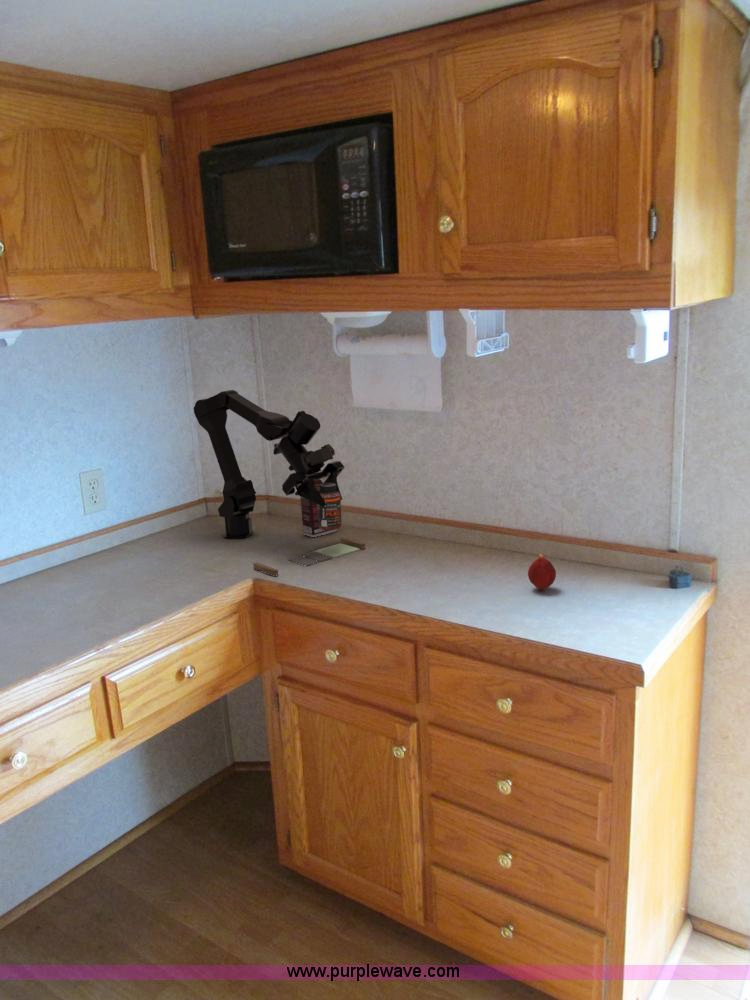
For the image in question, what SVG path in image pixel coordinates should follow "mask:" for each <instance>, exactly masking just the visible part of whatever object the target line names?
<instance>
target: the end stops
mask: <svg viewBox="0 0 750 1000" xmlns="http://www.w3.org/2000/svg"><path fill="white" fill-rule="evenodd" d="M339 543H342V544H345V545H349V546H352V547H356V548H359V549H360V550H361V551H364V550H366V543H364V542H360V541H357V540H353V539H349V538H347V537H342V536H341V537H339ZM252 565H253V570H255V569H257V570H259V571H258V572H260V571H263V572H266V573H269V574H272V575H274V576H276V575H278V576H279V569H276V568H274V567H272V566H269V565H265V564H262V563H260V562H254V563H252ZM257 570H256V571H257ZM263 572H262V573H263Z"/></svg>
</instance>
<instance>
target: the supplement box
mask: <svg viewBox="0 0 750 1000" xmlns="http://www.w3.org/2000/svg"><path fill="white" fill-rule="evenodd" d="M321 484H323V482H322V481H321V480H320V479H318V480H315V481H314V486H315V488H316V489H317V491H318V492H320V491H321V490H320V485H321ZM299 497H300V506H301V507H300V508H301V510H300V511H301V520H302V522H301V523H302V528H303V529H302V531H303V534H302V535H303V536H305V535H307V536H306V537H308V536H310V537H309V538H311V537H315V538H318V537H321V535H322V536H325V535H328V534H332V533H335V532H337V531H338V529H336V530H322V529H320V528H319V526H318V510H317V504H316V503H314V502H312V501H310V500H308V499H306V498H303V497H301V496H299ZM317 536H318V537H317Z"/></svg>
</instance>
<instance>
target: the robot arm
mask: <svg viewBox="0 0 750 1000" xmlns="http://www.w3.org/2000/svg"><path fill="white" fill-rule="evenodd" d="M229 410H230V411H231V412H233V413H234V414H236V415H238V416H240V417H241V418H243V419H244V420H245V421H247V422H249V424H250V423H251V424H252V425H253V426H254V427H255V429H256V431H257V433H258V434H259V435H260V436H261V437H262V438H264V439H265V440H266V441H269V442H271V441H276V440H280V441H279V442H278V443H274V445H273V446H274V447H273V455H280V454H281V455H282V456H283V458H285V460H286V462H287V463H288V464H289V466H288V470H289V471H290V472H291V471H294V472H293V473H290V474H289V475H288V477H287V478H286V479H285V481H284V482H283V483H282V485H281V487H282V489H281V490H282V491H283V493H284V495H285V496H289V495H293V494H294V496H299V497H300V496H301V497H303V498H306V499H308V500H310V501H312V502H314V503H316V504H318V505H320V506H322V507H325V506H326V503H325V501H324V499H323V498H322V496H321V495H320V493H319V492H318V491H317V489H316V488H315V486H314V481H315V480H318V479H320V480H321V481H322V482H323V483H335V484H336V491H337V492H339V493H340V500H341V501H342V500H343V497H342V494H341V491H340V487H339V484H338V476H339V475H340V474H341V473H342V471H344V469H345V465H344V464H343V463H342V461H341V460H336V461H332V462H328V463H327V464H326V466H325V463H326V462H327V461H329V460H330V461H331V460H333V459H334V456H335V449H334V448H333V447H332V445H331V444H329V443H328V444H325V445H323V446H321V447H320V448H319V449H317V450H308V449H307V448H306V447H305V445H308V444H309V443H310V442H311V441H312V440H313V438H314V437H315V435H316V434H317V432H318V431H320V429H321V423H320V420H319V419H318V418H316V417H315V416H313V415H311V414H310V413H307V412H306V411H305V410H300V411H298V412H297V413H296V414H295V417H294V419H293V420H290V419H289V417H287V415H283V414H280V413H277V412H272V411H268V410H265V409H264V408H262V407H261V406H258V405H257V404H256V403H254V402H252V401H251V400H249V399H247V398H246V397H244V396H242V395H241V394H239V392H238V391H237V390H234V389H228V390H224V391H223V390H222V391H220V392H219V393H217V394H215V395H213V396H210V397H208V398H203V399H199V400H196V402H195V403H194V406H193V413H194V416H195V418H196V420H197V422H198V424H199V426H201V427H202V428H203V429H204V430H205V432H207V433H208V436H209V439H210V442H211V445H212V448H213V451H214V454H215V457H216V460H217V463H218V466H219V469H220V473H221V474H222V478H223V480H224V482H223V483H224V484H223V488H222V497H223V501H222V502H221V504H220V506H219V507H218V508H217V511H218V514H219V517H221V518H224V526H225V535H224V536H223V539H246V538H248V537H249V536H250V535H251V534H252V533H253V532H254V530H253V522H252V517H250V513H252V512H254V508H255V504H256V501H257V496H256V494H257V491H256V490H255V488H254V484H253V481H252V480H251V479H249V480H247V479H246V478H245V477H244V476H243V475H242V472H241V469H240V466H239V464H238V460H237V457H236V454H235V452H234V448H233V445H232V443H231V440H230V437H229V434H228V431H227V428H226V427H227V426H226V425H227V420H228V412H227V411H229ZM324 466H325V467H324ZM323 467H324V468H323ZM322 468H323V469H322Z"/></svg>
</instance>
